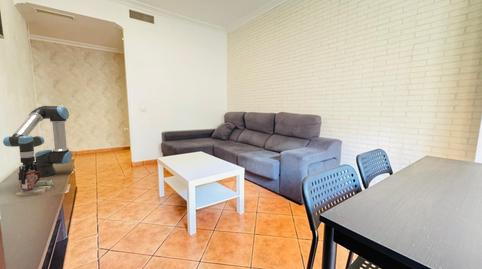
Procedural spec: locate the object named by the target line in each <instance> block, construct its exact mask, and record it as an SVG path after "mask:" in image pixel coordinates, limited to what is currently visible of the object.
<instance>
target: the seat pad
mask: <svg viewBox="0 0 482 269" xmlns="http://www.w3.org/2000/svg"><path fill="white" fill-rule="evenodd" d="M40 189H41V188H40V187H35V188H33V189H30V190H21V189H20V191H19V192H21V193H30V192H34V191H38V190H40Z"/></svg>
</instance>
